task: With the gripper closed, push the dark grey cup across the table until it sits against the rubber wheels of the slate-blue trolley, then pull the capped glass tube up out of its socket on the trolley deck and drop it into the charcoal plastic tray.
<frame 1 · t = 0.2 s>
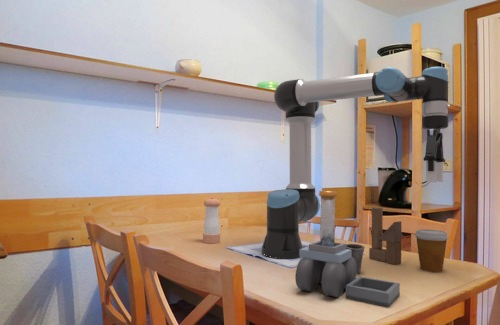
hand: (434, 182, 119), 27 cm above the table, tool pointing down, fingers open, 13 cm apart
dark grey cup: (351, 274, 111), on the table
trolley: (325, 288, 97), on the table
capped glass tube: (327, 249, 96), point 10 cm above the table, touching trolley
disposable coffee cup: (431, 270, 117), on the table
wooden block: (384, 261, 128), on the table
salt shaker: (211, 242, 158), on the table
tray: (373, 296, 90), on the table
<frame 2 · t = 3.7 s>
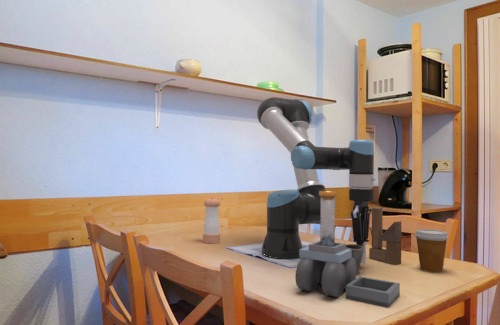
hand: (361, 262, 118), 2 cm above the table, tool pointing down, fingers closed
dark grey cup: (350, 275, 110), on the table, touching gripper
everything else where it was.
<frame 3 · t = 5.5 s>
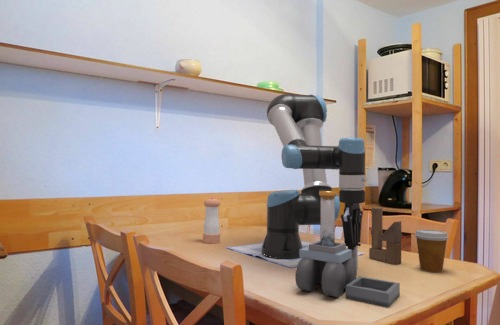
hand: (352, 268, 111), 2 cm above the table, tool pointing down, fingers closed
dark grey cup: (340, 281, 104), on the table, touching gripper, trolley
everything else where it was.
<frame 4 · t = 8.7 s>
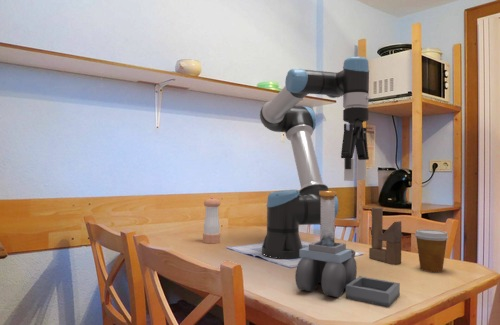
hand: (355, 180, 114), 28 cm above the table, tool pointing down, fingers open, 10 cm apart
dark grey cup: (340, 281, 104), on the table, touching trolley
everything else where it was.
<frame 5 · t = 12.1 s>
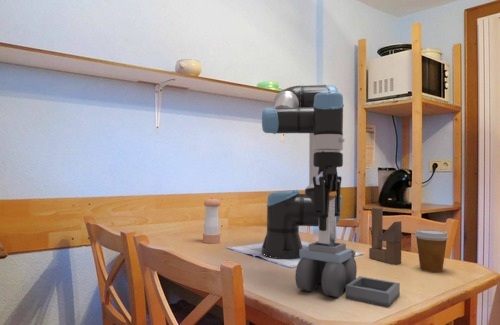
hand: (327, 241, 97), 12 cm above the table, tool pointing down, fingers closed on capped glass tube, 3 cm apart
capped glass tube: (327, 249, 96), point 10 cm above the table, touching gripper, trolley
everything else where it was.
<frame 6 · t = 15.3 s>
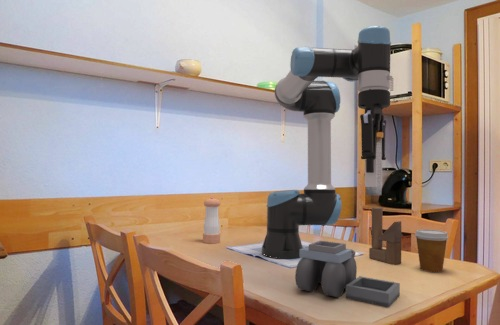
hand: (373, 186, 91), 27 cm above the table, tool pointing down, fingers closed on capped glass tube, 3 cm apart
capped glass tube: (373, 194, 91), point 25 cm above the table, touching gripper
everything else where it was.
when the fingers open (5 cm above the table, at t = 18.7 s): capped glass tube stays where it is, resting on tray.
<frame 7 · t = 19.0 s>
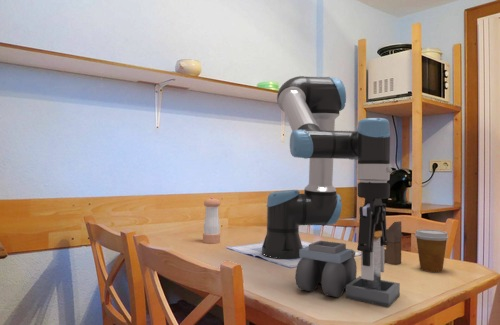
hand: (373, 274, 91), 5 cm above the table, tool pointing down, fingers open, 8 cm apart
capped glass tube: (373, 293, 90), point 1 cm above the table, touching tray
everything else where it was.
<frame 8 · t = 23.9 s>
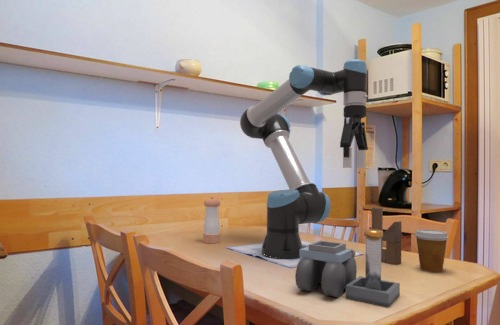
hand: (354, 168, 127), 32 cm above the table, tool pointing down, fingers open, 13 cm apart
nothing on the table moved.
at the end: dark grey cup inside the target area (1.2 cm from its centre), on the table; capped glass tube inside the target area on the tray (0.0 cm from its centre), point 0.8 cm above the tray's base; the gripper is holding nothing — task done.
